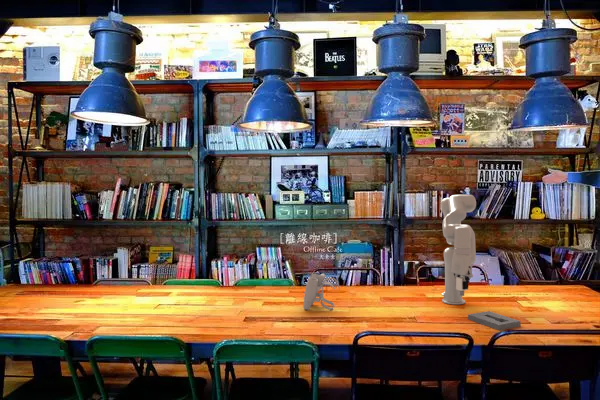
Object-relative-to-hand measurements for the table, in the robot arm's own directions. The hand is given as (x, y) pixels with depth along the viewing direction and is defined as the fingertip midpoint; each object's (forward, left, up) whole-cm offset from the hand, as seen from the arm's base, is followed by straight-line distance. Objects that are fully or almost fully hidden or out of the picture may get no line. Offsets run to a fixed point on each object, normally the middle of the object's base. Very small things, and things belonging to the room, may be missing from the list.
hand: (462, 287), depth 248 cm
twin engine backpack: (-55, -50, -17) cm, 76 cm away
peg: (0, 0, -4) cm, 4 cm away
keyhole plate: (+8, +13, -17) cm, 23 cm away
